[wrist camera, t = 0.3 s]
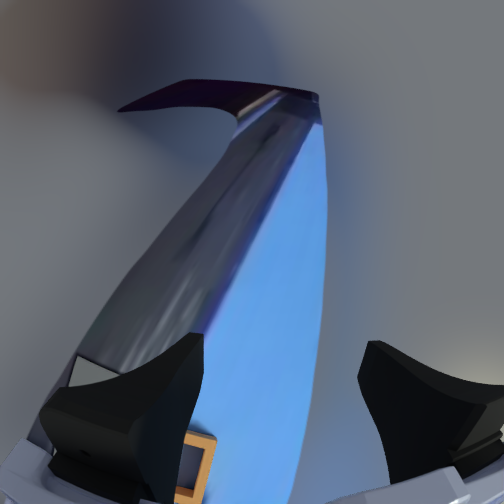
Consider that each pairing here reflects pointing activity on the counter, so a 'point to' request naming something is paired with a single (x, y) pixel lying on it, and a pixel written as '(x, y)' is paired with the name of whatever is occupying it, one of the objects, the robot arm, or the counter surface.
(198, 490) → the orange rectangular frame
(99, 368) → the keeper plate
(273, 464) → the counter surface
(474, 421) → the robot arm
